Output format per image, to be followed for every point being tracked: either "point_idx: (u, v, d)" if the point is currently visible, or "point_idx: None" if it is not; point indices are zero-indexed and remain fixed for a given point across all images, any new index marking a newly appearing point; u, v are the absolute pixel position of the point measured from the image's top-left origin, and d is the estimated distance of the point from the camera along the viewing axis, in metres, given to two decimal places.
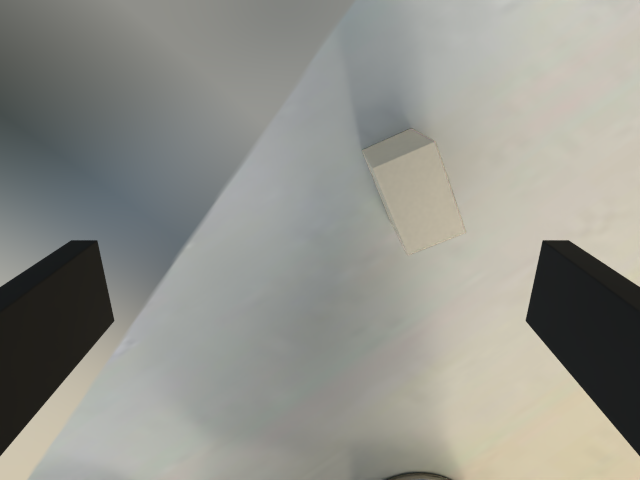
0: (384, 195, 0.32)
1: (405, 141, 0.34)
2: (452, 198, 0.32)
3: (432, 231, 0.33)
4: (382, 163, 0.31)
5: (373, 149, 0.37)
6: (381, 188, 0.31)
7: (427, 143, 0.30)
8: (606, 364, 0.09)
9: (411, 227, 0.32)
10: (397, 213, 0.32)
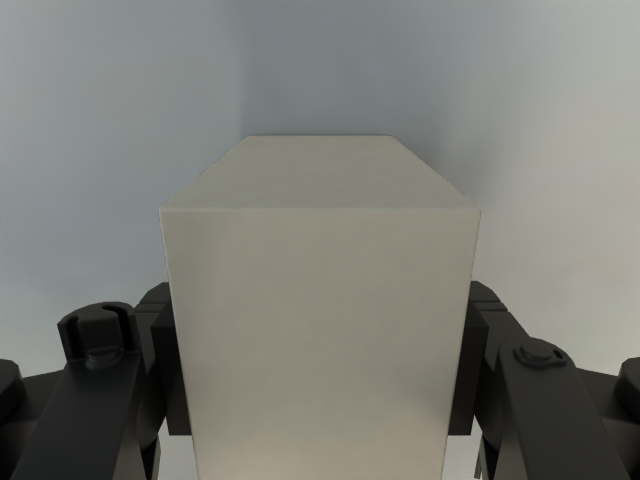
0: (181, 337, 0.07)
1: (360, 159, 0.10)
2: (440, 440, 0.08)
3: None
4: (214, 205, 0.06)
5: (267, 144, 0.12)
6: (176, 306, 0.07)
7: (442, 203, 0.06)
8: None
9: (251, 475, 0.08)
10: (215, 418, 0.08)
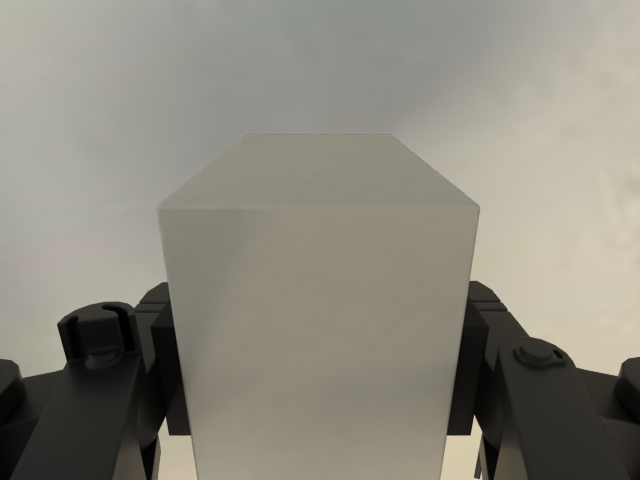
0: (180, 335, 0.07)
1: (359, 157, 0.10)
2: (439, 438, 0.08)
3: None
4: (213, 203, 0.06)
5: (267, 143, 0.12)
6: (175, 304, 0.07)
7: (441, 201, 0.06)
8: None
9: (249, 474, 0.08)
10: (213, 417, 0.08)
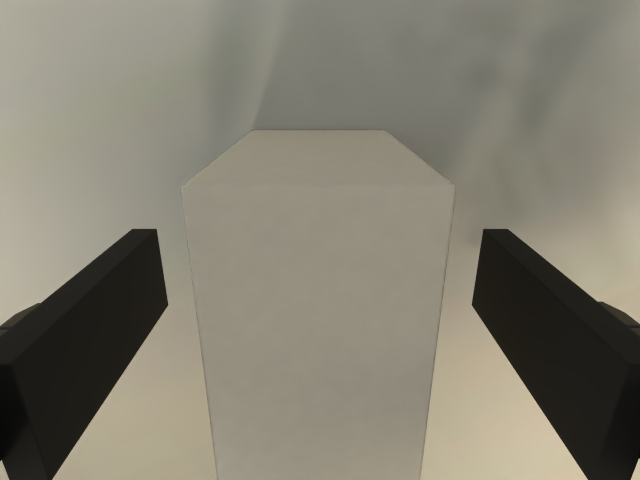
0: (198, 300, 0.08)
1: (355, 149, 0.11)
2: (424, 394, 0.09)
3: (321, 460, 0.10)
4: (229, 184, 0.08)
5: (271, 137, 0.13)
6: (195, 273, 0.08)
7: (423, 182, 0.08)
8: (526, 339, 0.10)
9: (257, 426, 0.09)
10: (227, 374, 0.09)
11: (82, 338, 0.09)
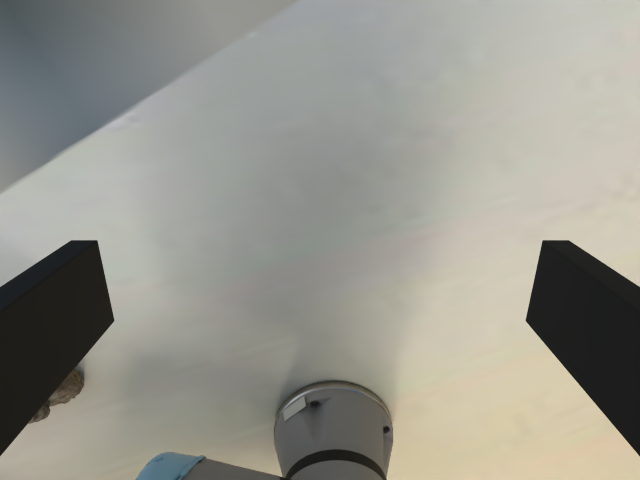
0: None
1: None
2: None
3: None
4: None
5: None
6: None
7: None
8: (606, 364, 0.09)
9: None
10: None
11: None
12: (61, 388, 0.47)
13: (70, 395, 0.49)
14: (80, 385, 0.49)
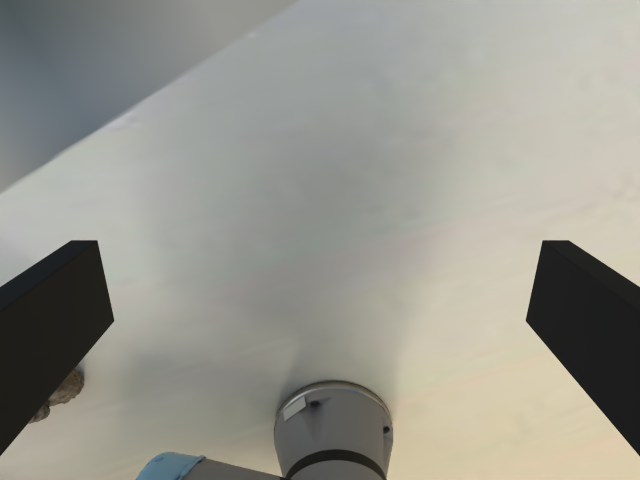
0: None
1: None
2: None
3: None
4: None
5: None
6: None
7: None
8: (606, 364, 0.09)
9: None
10: None
11: None
12: (61, 388, 0.47)
13: (70, 395, 0.49)
14: (80, 385, 0.49)
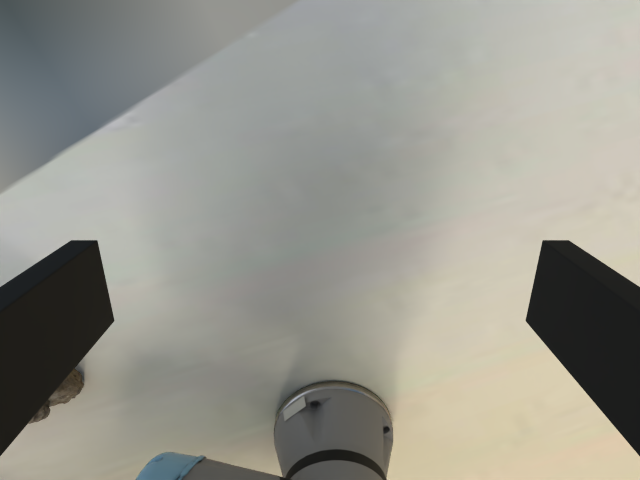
0: None
1: None
2: None
3: None
4: None
5: None
6: None
7: None
8: (606, 364, 0.09)
9: None
10: None
11: None
12: (61, 388, 0.47)
13: (70, 395, 0.49)
14: (80, 385, 0.49)
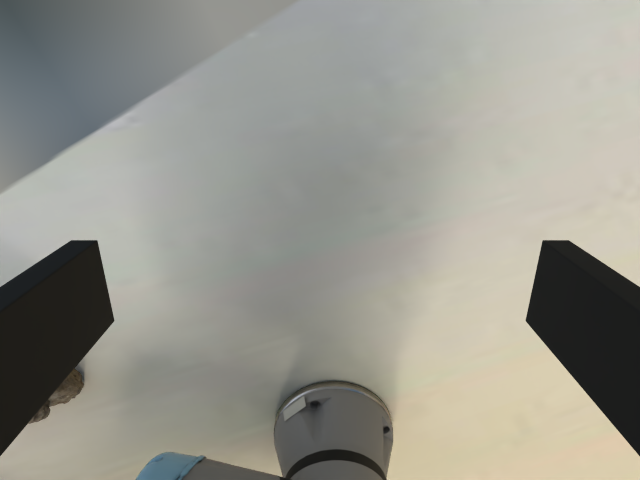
0: None
1: None
2: None
3: None
4: None
5: None
6: None
7: None
8: (606, 364, 0.09)
9: None
10: None
11: None
12: (61, 388, 0.47)
13: (70, 395, 0.49)
14: (80, 385, 0.49)
